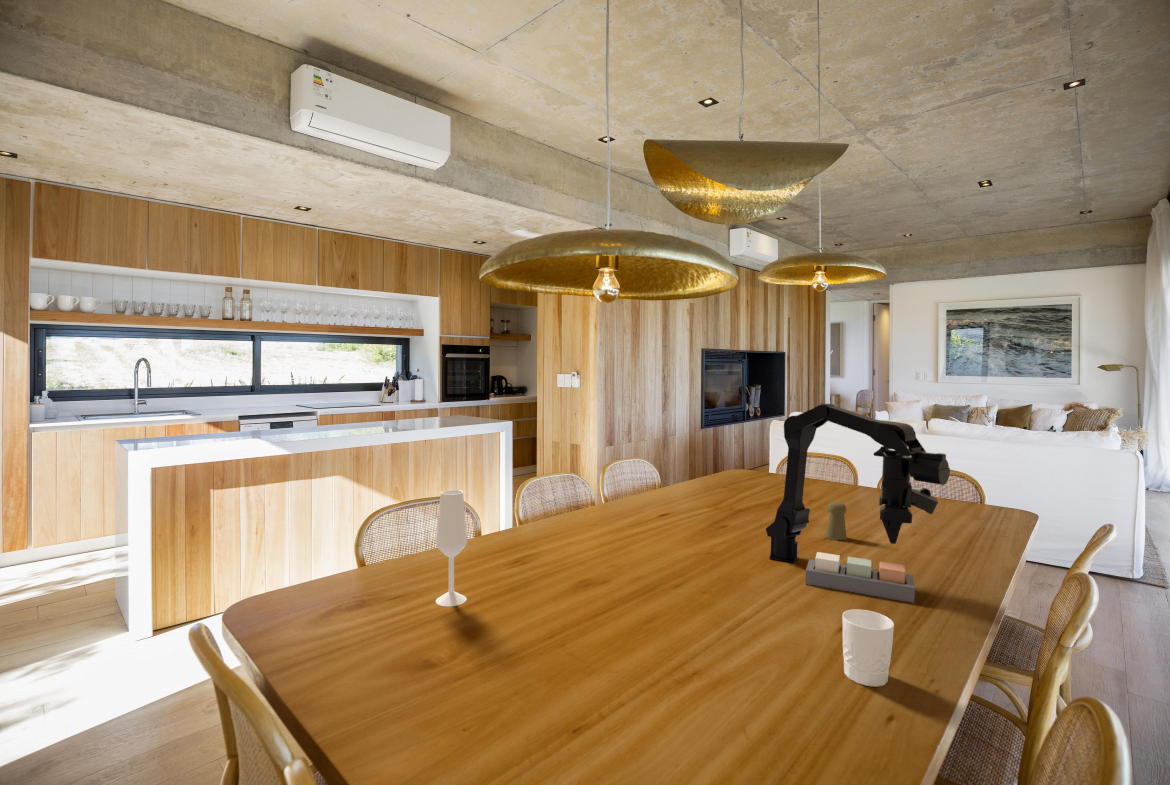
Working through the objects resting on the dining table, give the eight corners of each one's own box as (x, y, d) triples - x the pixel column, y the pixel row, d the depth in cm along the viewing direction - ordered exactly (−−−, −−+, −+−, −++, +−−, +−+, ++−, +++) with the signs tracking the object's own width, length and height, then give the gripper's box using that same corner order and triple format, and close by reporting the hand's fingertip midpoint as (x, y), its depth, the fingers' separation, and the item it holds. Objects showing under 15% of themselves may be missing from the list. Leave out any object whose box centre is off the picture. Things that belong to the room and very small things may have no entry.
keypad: (805, 584, 140) (805, 569, 139) (808, 572, 148) (809, 559, 148) (914, 603, 129) (914, 587, 129) (911, 589, 137) (912, 575, 137)
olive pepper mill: (848, 541, 175) (850, 505, 174) (827, 540, 176) (829, 504, 175) (844, 535, 181) (845, 501, 180) (823, 534, 182) (824, 499, 181)
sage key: (846, 579, 137) (846, 562, 137) (847, 572, 142) (847, 556, 142) (870, 583, 135) (871, 566, 135) (870, 576, 140) (871, 560, 139)
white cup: (831, 664, 102) (833, 609, 101) (873, 663, 103) (876, 608, 102) (856, 690, 94) (858, 630, 94) (901, 688, 95) (904, 629, 94)
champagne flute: (439, 608, 122) (440, 496, 121) (432, 597, 128) (432, 490, 127) (470, 603, 125) (471, 494, 124) (462, 592, 131) (462, 487, 130)
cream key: (814, 574, 140) (815, 558, 140) (816, 567, 145) (817, 551, 145) (837, 578, 138) (838, 561, 138) (839, 571, 143) (839, 555, 143)
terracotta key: (879, 584, 134) (879, 567, 134) (878, 577, 139) (879, 561, 139) (904, 589, 132) (905, 571, 132) (903, 581, 137) (904, 564, 136)
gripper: (940, 488, 122) (937, 561, 123) (932, 474, 139) (929, 538, 140) (881, 483, 127) (878, 552, 128) (880, 469, 144) (877, 531, 145)
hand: (892, 543), depth 135 cm, fingers closed
